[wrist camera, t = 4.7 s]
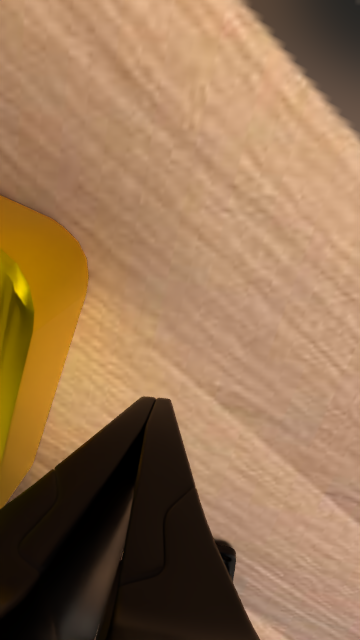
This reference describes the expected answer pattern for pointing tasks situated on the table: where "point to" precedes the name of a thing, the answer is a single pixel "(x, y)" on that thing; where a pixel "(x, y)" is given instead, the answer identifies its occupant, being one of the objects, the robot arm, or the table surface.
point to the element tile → (33, 329)
